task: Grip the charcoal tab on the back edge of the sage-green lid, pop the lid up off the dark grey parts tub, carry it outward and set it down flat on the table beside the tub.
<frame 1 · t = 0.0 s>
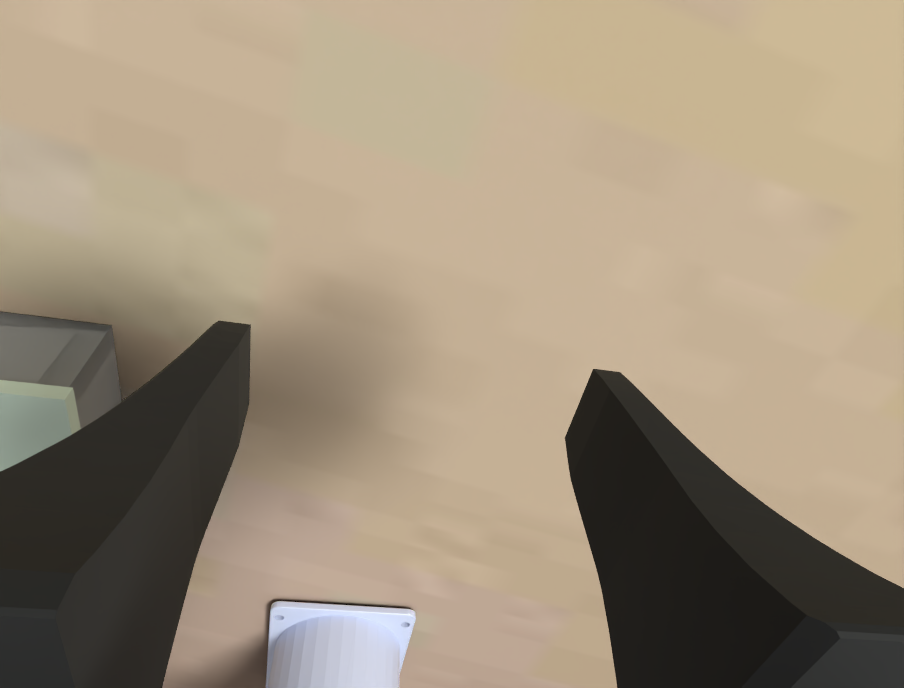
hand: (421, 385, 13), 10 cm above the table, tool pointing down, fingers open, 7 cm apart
parts tub: (2, 475, 28), on the table
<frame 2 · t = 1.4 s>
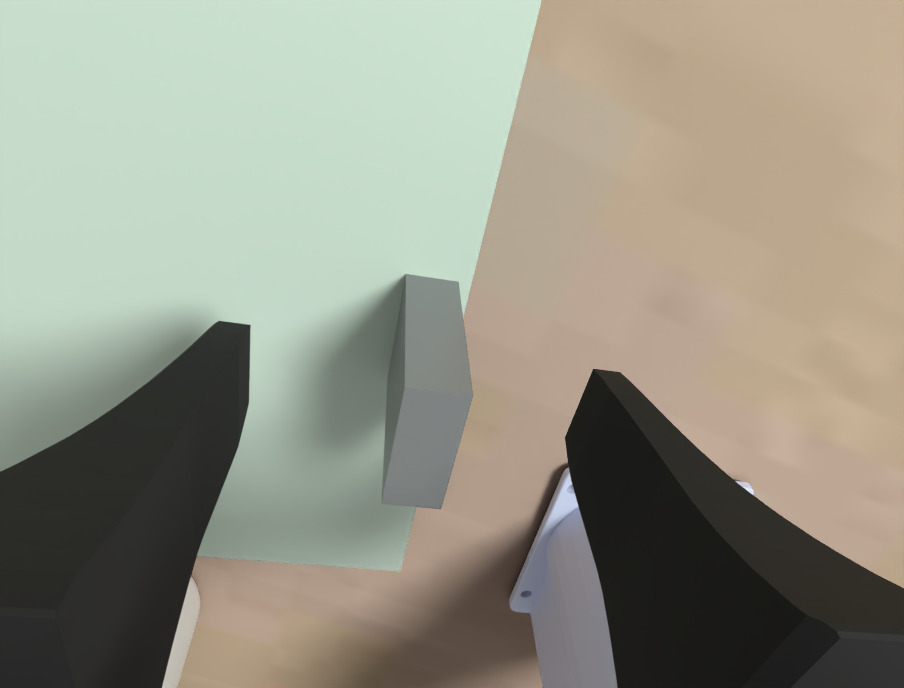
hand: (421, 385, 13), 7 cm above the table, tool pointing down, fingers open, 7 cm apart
tub lid: (213, 290, 15), point 4 cm above the table, touching parts tub
eye dropper bottle: (163, 594, 28), on the table
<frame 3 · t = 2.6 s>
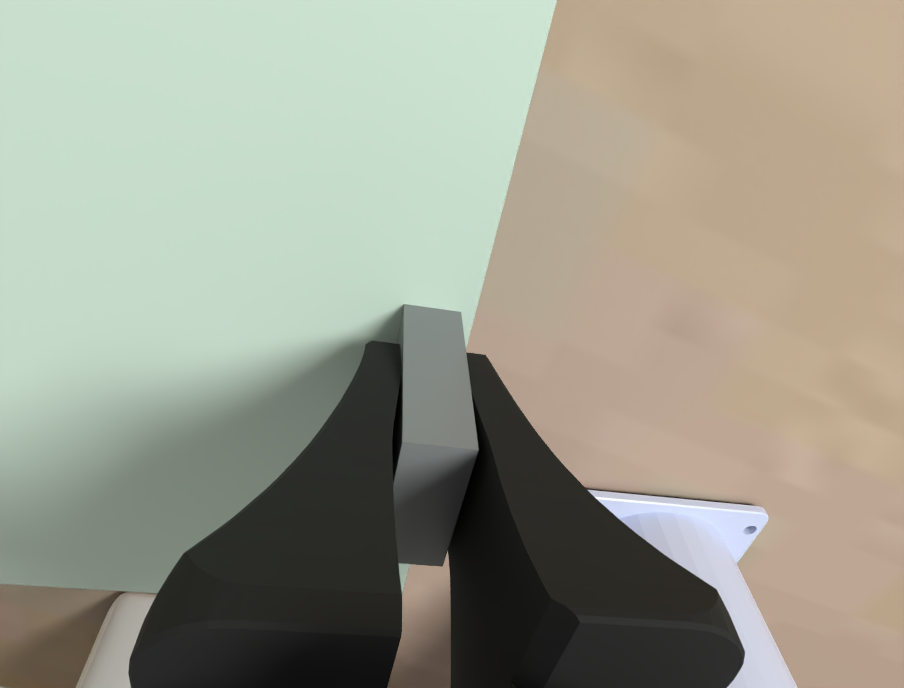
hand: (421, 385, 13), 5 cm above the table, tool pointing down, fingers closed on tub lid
tub lid: (195, 320, 13), point 4 cm above the table, touching gripper, parts tub
eye dropper bottle: (152, 620, 27), on the table
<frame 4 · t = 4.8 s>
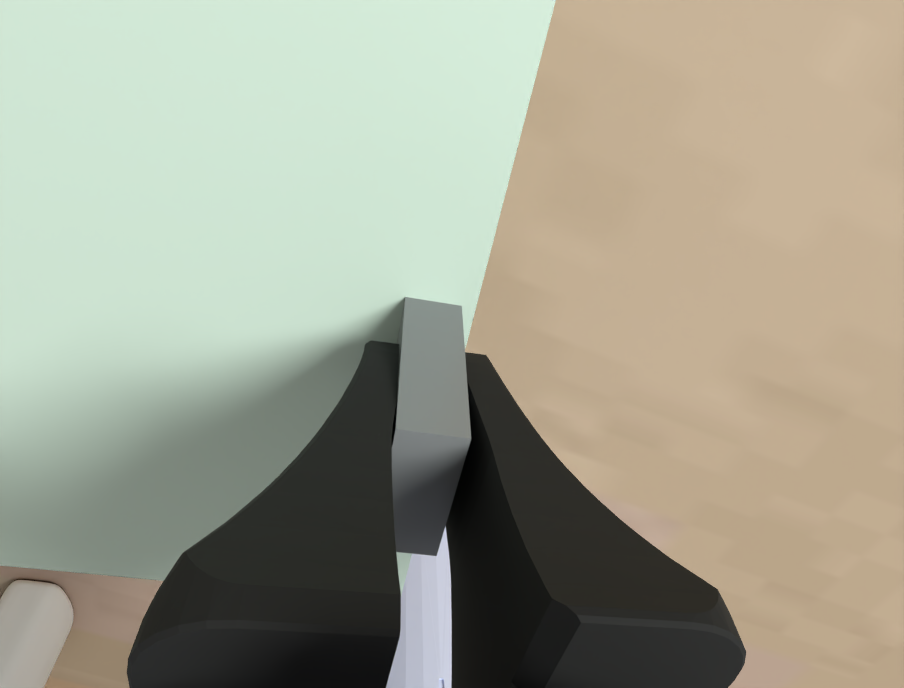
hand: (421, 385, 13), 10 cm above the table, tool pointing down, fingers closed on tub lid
tub lid: (201, 310, 14), point 9 cm above the table, touching gripper
eye dropper bottle: (42, 603, 34), on the table
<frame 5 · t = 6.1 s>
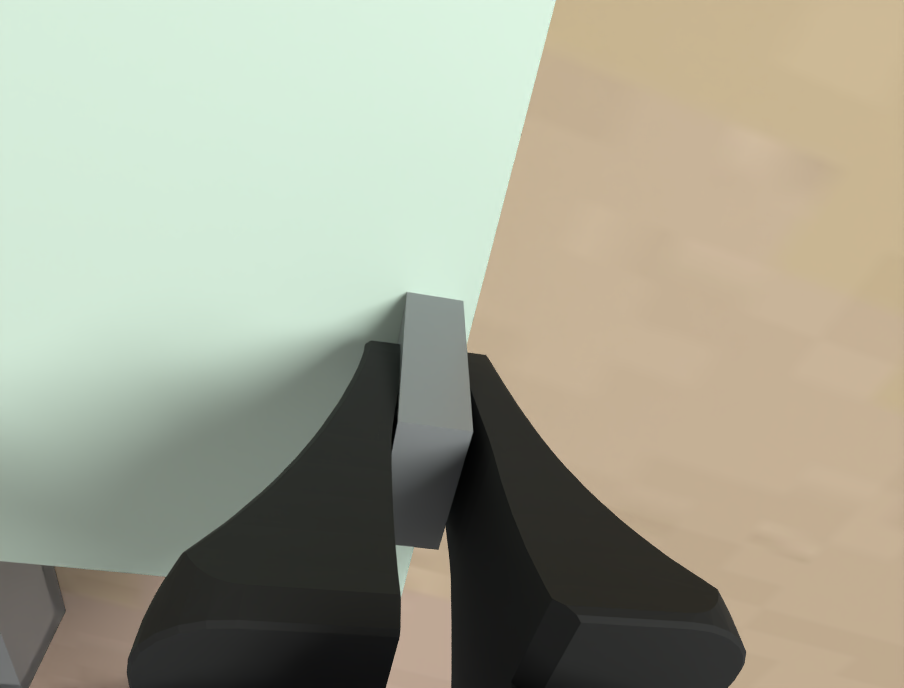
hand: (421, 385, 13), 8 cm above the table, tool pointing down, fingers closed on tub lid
tub lid: (204, 305, 14), point 6 cm above the table, touching gripper
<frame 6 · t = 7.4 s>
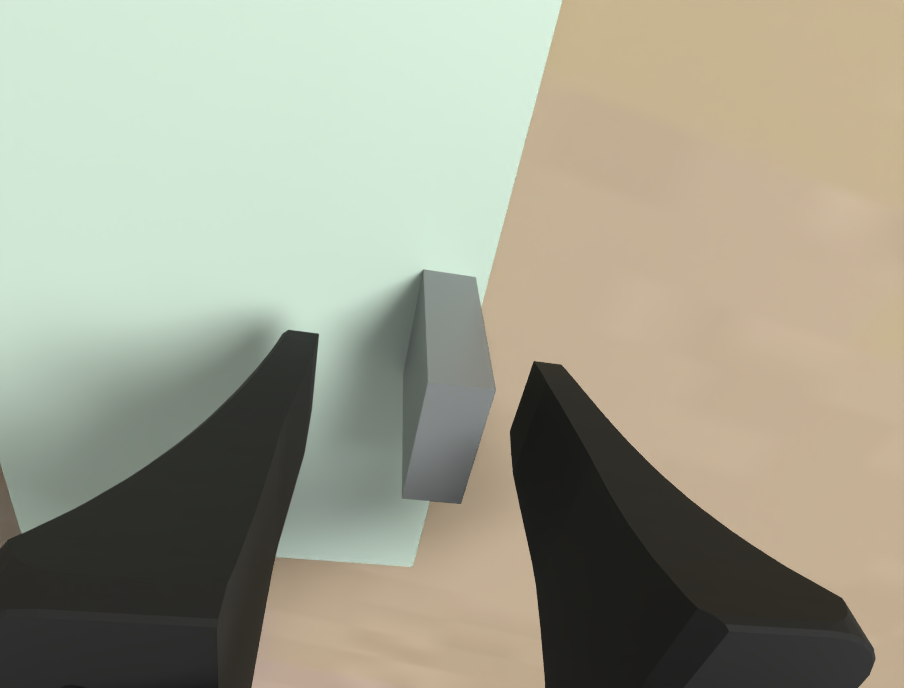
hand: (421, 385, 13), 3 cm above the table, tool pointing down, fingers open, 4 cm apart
tub lid: (230, 285, 15), point 1 cm above the table
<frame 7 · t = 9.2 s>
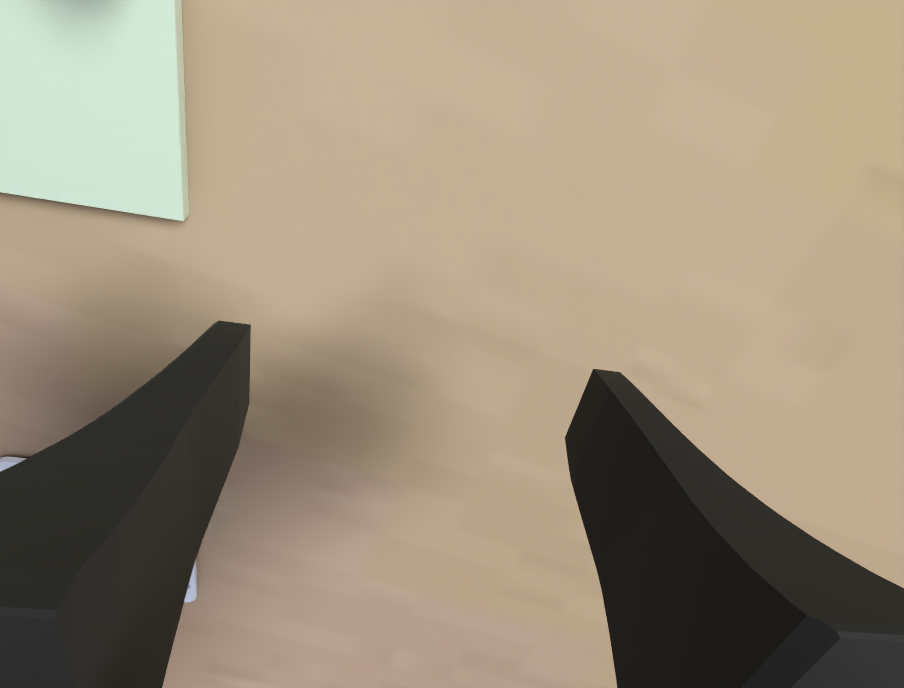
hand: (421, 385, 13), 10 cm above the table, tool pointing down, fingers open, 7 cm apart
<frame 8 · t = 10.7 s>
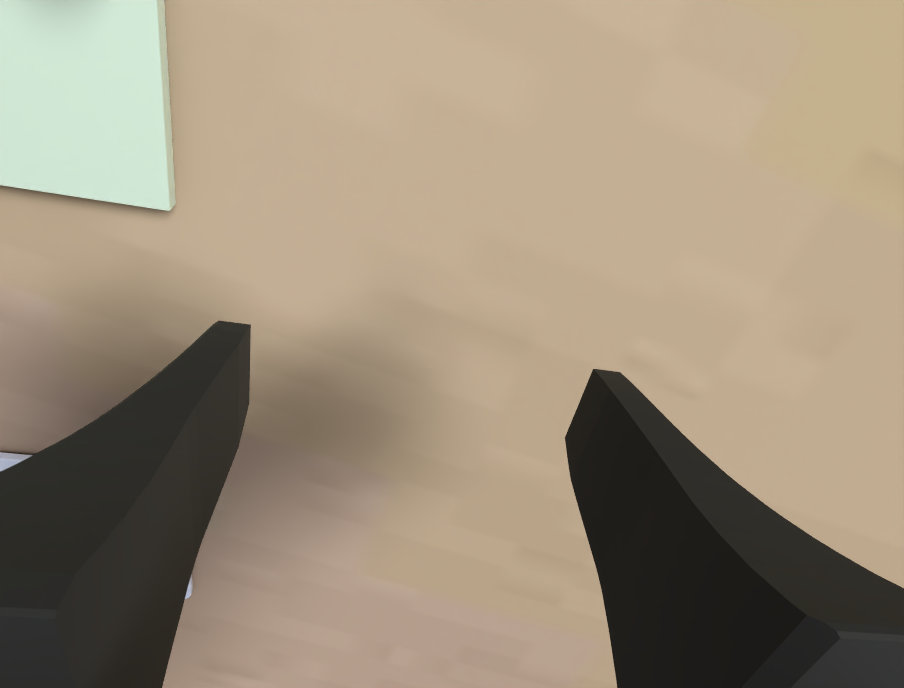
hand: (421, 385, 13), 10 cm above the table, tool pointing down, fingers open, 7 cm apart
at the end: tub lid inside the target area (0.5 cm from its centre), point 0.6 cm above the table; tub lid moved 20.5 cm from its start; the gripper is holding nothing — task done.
